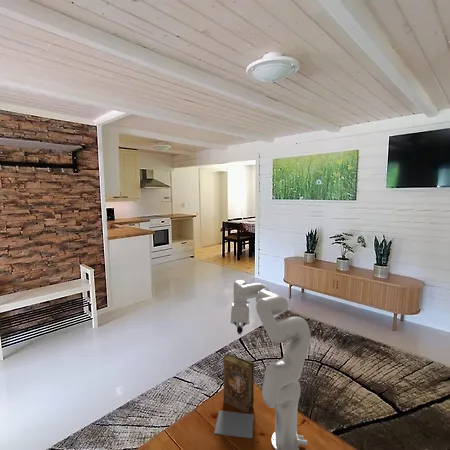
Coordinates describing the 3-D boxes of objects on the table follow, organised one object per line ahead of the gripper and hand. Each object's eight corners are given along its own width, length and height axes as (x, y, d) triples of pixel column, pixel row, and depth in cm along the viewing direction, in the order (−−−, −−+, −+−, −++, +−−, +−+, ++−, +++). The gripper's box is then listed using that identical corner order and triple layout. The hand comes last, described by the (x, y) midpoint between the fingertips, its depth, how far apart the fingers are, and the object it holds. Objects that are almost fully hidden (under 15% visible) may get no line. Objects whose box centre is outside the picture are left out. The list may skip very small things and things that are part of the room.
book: (222, 401, 153) (222, 358, 150) (227, 395, 158) (227, 353, 155) (248, 413, 144) (249, 368, 142) (253, 406, 149) (254, 362, 146)
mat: (253, 415, 143) (253, 414, 143) (252, 438, 130) (252, 437, 129) (219, 411, 146) (219, 410, 146) (214, 433, 132) (214, 433, 132)
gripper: (253, 300, 160) (253, 331, 162) (227, 299, 162) (227, 329, 164) (253, 305, 152) (252, 337, 155) (226, 304, 154) (225, 335, 157)
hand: (239, 333), depth 159 cm, fingers closed
